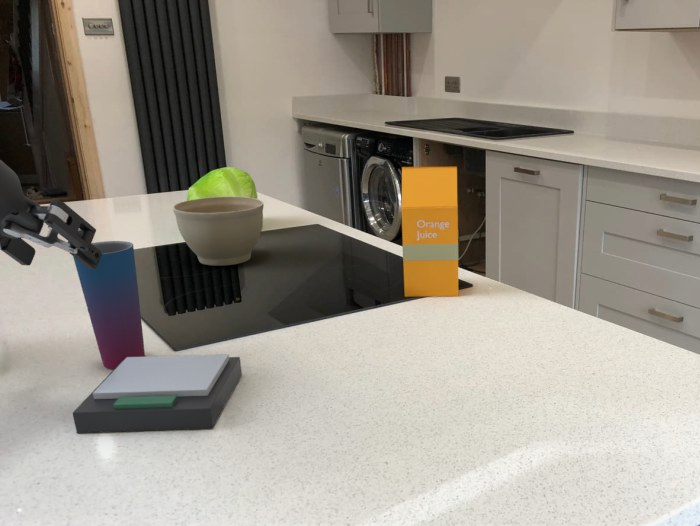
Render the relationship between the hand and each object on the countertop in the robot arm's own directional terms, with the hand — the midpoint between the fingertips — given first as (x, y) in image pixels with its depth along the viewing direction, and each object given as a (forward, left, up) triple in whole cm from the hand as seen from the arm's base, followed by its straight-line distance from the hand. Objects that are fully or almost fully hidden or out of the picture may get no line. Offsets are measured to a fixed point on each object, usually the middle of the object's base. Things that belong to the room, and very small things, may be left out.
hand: (63, 260), depth 82 cm
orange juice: (+42, +35, -15) cm, 56 cm away
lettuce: (-3, +85, -15) cm, 86 cm away
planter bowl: (+3, +57, -15) cm, 59 cm away
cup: (+2, +7, -15) cm, 17 cm away
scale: (+11, -5, -15) cm, 19 cm away
